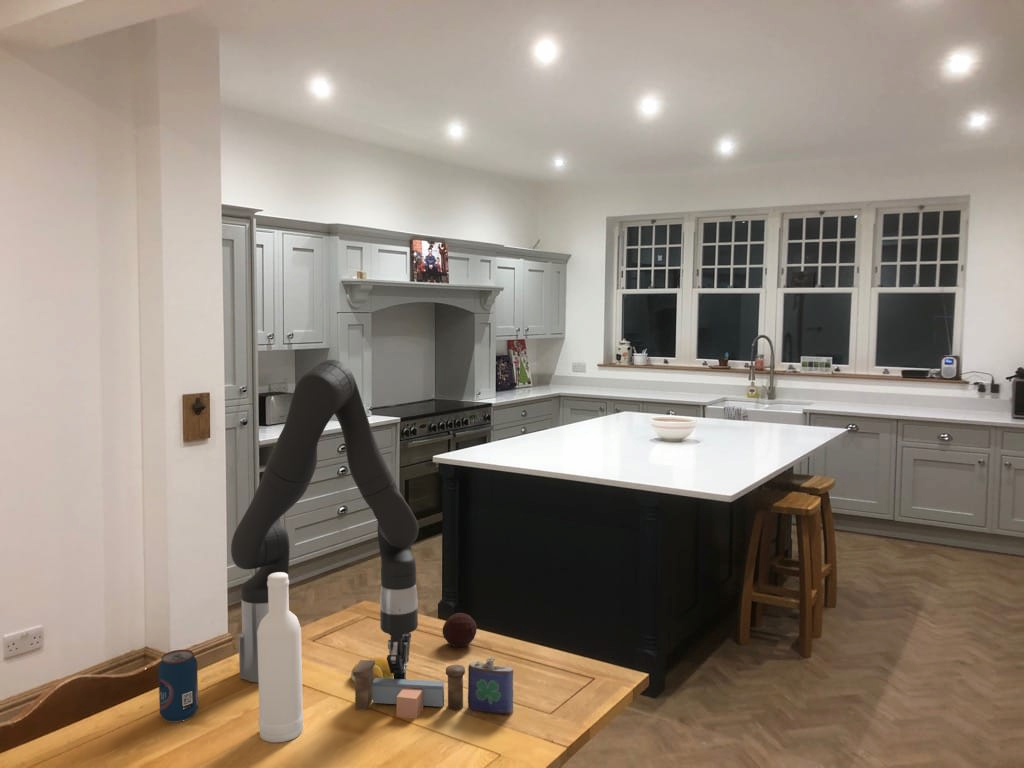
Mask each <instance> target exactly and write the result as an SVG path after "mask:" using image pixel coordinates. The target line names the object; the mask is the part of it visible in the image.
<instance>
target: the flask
mask: <svg viewBox="0 0 1024 768" xmlns="http://www.w3.org/2000/svg"><path fill="white" fill-rule="evenodd" d="M495 660H496V659H495V657H492V656H491V657H488V658H486V662H485V663H483V662H481V661H480V660H477V661H475V662H474V661H473V662H470V663H469V664H468V668H467V672H468V673H467V674H468V677H467V679H468V681H467V682H468V683H467V684H468V685H467V686H468V687H467V688H468V689H467V707H468V710H469V711H471V712H475V713H479V714H489V715H495V716H496V715H499V716H511V715H512V714H513V712H514V669H513V667H512V666H507V665H506V666H503V665H501V666H500V665H495V664H494V662H495Z"/></svg>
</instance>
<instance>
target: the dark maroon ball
mask: <svg viewBox="0 0 1024 768" xmlns="http://www.w3.org/2000/svg"><path fill="white" fill-rule="evenodd" d="M477 628H478V627H477V624H476V621H475V620H474V619H473V618H472V616H471V615H469V614H467V613H466V612H465V613H464V612H456V613H454V614H452V615H451V616H449V617H448V619H446V621H445V622H444V625H442V636H443V638H444V639H445V641H446V642H447V644H449V645H450V646H453V647H455V648H463V647H466V646H468V645H470V644H471V643H472V642H473V641H474V639H475V637H476V634H477Z"/></svg>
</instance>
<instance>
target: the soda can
mask: <svg viewBox="0 0 1024 768" xmlns="http://www.w3.org/2000/svg"><path fill="white" fill-rule="evenodd" d="M198 681H199V679H198V661H197V658H196V657H195V655H194V652H193V650H189V649H176V650H172V651H169V652H166V653H164V654H163V655H162V656H161V661H160V662H159V664H158V694H159V695H158V696H159V697H158V698H159V699H158V701H159V714H160V716H161V717H162V719H163V720H164V721H165V720H166V722H167V721H168V722H167V723H173V722H175V723H180V722H179V721H182V722H184V721H183V720H185V721H187V720H186V719H188V720H189V718H190V719H192V718H193V717H194V716H195V714H196V713H197V710H198V708H199V688H198V687H199V685H198ZM193 715H194V716H193ZM192 716H193V717H192Z"/></svg>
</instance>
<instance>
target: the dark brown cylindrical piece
mask: <svg viewBox="0 0 1024 768" xmlns="http://www.w3.org/2000/svg"><path fill="white" fill-rule="evenodd" d="M465 673H466V668H465V666H464V665H461V664H450V665H449V666H447V667H445V675H446V676H447V709H448V710H450V711H453V712H454V711H460V710H462V709H463V708H464V675H465Z"/></svg>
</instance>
